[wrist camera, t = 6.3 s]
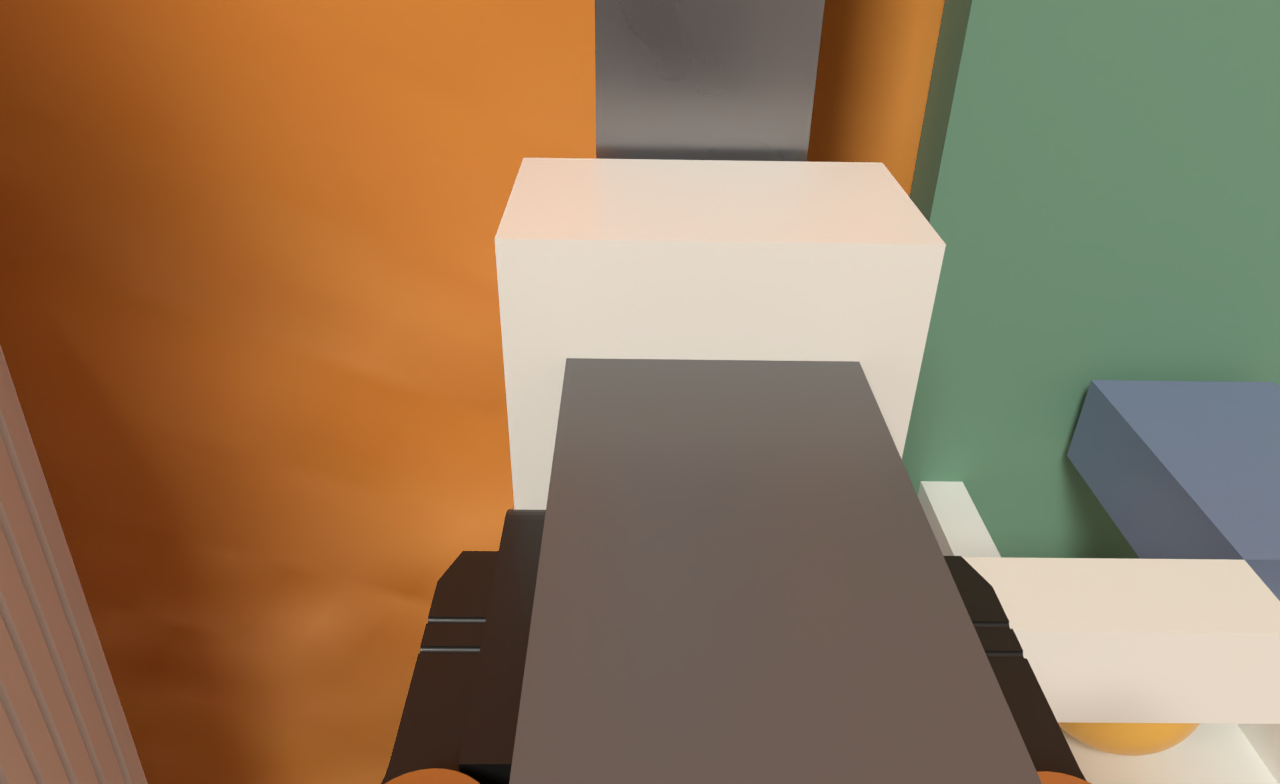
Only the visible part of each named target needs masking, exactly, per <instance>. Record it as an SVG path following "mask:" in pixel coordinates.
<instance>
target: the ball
mask: <svg viewBox="0 0 1280 784" xmlns="http://www.w3.org/2000/svg"><path fill="white" fill-rule="evenodd" d="M1058 724H1059V726H1060V727H1061V728H1062V729H1063V730H1064V731H1065V732H1067V733H1068V734H1069V735H1071V736H1072V737H1074V738H1075V739H1077V740H1078V741H1080V742H1082V743H1084V744H1086V745H1088V746H1090V747H1093V748H1095V749H1097V750H1100V751H1104V752H1107V753H1112V754H1117V755H1128V756H1141V755H1148V754H1153V753H1158V752H1161V751H1164V750H1167V749H1169V748H1171V747H1173V746H1175V745H1177V744H1179V743H1180V742H1182V741H1183V740H1185V739H1186V738H1187V737H1188V736H1189V735H1190V734H1192V733H1193V732H1194V731H1195V729H1196V728H1197V727H1198V725H1199V724H1200V723H1075V722H1058Z"/></svg>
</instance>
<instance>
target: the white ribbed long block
mask: <svg viewBox="0 0 1280 784" xmlns="http://www.w3.org/2000/svg"><path fill="white" fill-rule="evenodd" d="M0 784H148V783H147V780H146V777H145V774H144V771H143V768H142V765H141V762H140V759H139V756H138V753H137V750H136V747H135V744H134V741H133V738H132V735H131V732H130V729H129V726H128V723H127V720H126V717H125V714H124V711H123V708H122V705H121V702H120V700H119V697H118V694H117V691H116V688H115V685H114V682H113V679H112V676H111V673H110V670H109V667H108V664H107V661H106V658H105V655H104V652H103V649H102V646H101V643H100V640H99V637H98V634H97V631H96V628H95V625H94V622H93V619H92V616H91V613H90V610H89V607H88V604H87V601H86V598H85V595H84V592H83V589H82V586H81V583H80V580H79V577H78V574H77V571H76V568H75V566H74V563H73V560H72V557H71V554H70V551H69V548H68V545H67V542H66V539H65V536H64V533H63V530H62V527H61V524H60V521H59V518H58V515H57V512H56V509H55V506H54V503H53V500H52V497H51V494H50V491H49V488H48V485H47V482H46V479H45V476H44V473H43V470H42V467H41V464H40V461H39V458H38V455H37V452H36V449H35V446H34V443H33V440H32V437H31V434H30V431H29V429H28V426H27V423H26V420H25V417H24V414H23V411H22V408H21V405H20V402H19V399H18V396H17V393H16V390H15V387H14V384H13V381H12V378H11V375H10V372H9V369H8V366H7V363H6V360H5V357H4V354H3V351H2V348H1V345H0Z"/></svg>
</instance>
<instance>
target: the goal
mask: <svg viewBox="0 0 1280 784" xmlns="http://www.w3.org/2000/svg"><path fill="white" fill-rule="evenodd" d="M918 498H919V501H920V503H921V505H922V508H923V510H924V512H925V515H926V517H927V519H928V522H929V524H930V526H931V529H932V531H933V533H934V535H935V538H936V540H937V542H938V545H939V547H940V549H941V552H942V554H943V556H961V557H1001V556H1000V554H999V552H998V550H997V548H996V546H995V544H994V542H993V540H992V538H991V536H990V534H989V532H988V530H987V528H986V527H985V525H984V523H983V521H982V519H981V517H980V515H979V513H978V511H977V509H976V507H975V505H974V503H973V501H972V499H971V497H970V495H969V493H968V491H967V489H966V488H965V486H964V484H963V482H940V481H921V483H920V488H919V492H918ZM1060 728H1061V727H1060ZM1061 731H1062V733H1063V735H1064V737H1065V739H1066V741H1067V743H1068V745H1069V747H1070V749H1071V751H1072V753H1073V756H1074V758H1075V760H1076V762H1077V764H1078V766H1079V768H1080V770H1081V772H1082V774H1083V775H1084V777H1085V779H1086V781H1087V782H1089V783H1091V784H1280V724H1225V723H1200V724H1199V725H1198V727H1197V728H1196V729H1195V731H1194V732H1193V733H1192V734H1190V735H1189V736H1188V737H1187V738H1186V739H1185V740H1183V741H1182V742H1180V743H1179V744H1177V745H1175V746H1173V747H1171V748H1169V749H1167V750H1164V751H1161V752H1158V753H1153V754H1148V755H1141V756H1128V755H1117V754H1112V753H1107V752H1104V751H1100V750H1097V749H1095V748H1093V747H1090V746H1088V745H1086V744H1084V743H1082V742H1080V741H1078V740H1077V739H1075V738H1074V737H1072V736H1071V735H1069V734H1068V733H1067V732H1065V731H1064V730H1063V729H1062V728H1061Z"/></svg>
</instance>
